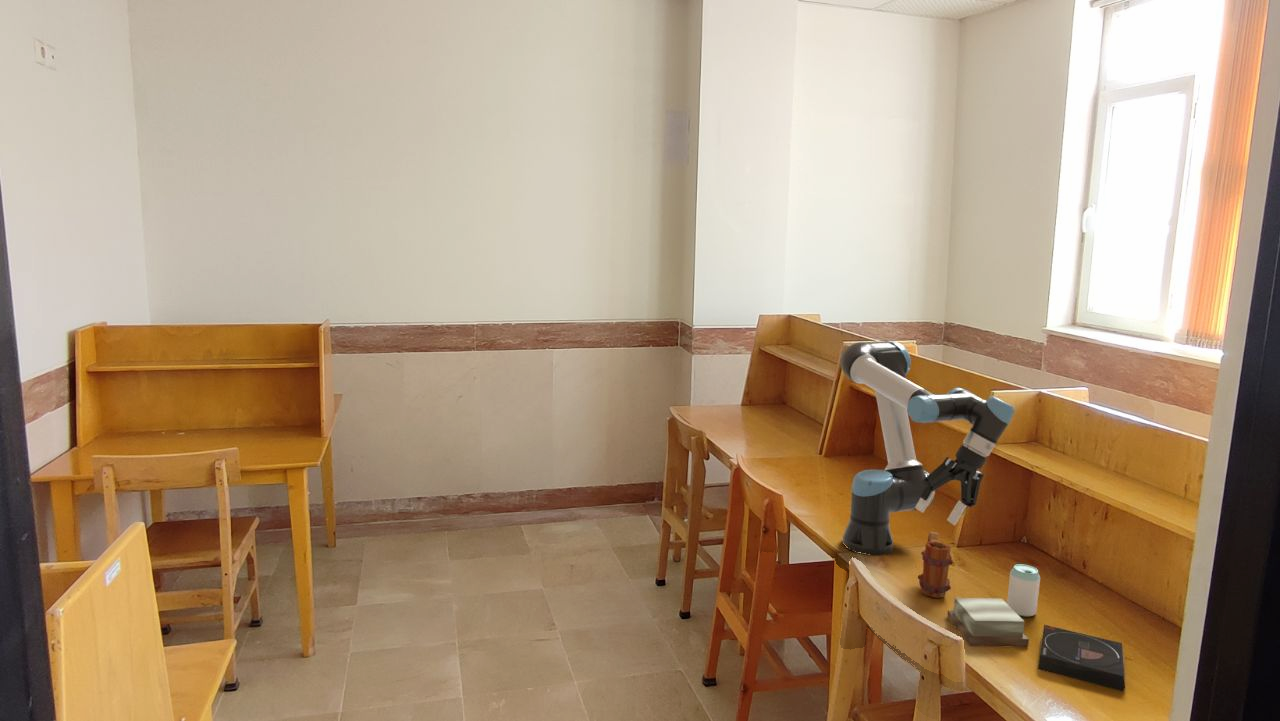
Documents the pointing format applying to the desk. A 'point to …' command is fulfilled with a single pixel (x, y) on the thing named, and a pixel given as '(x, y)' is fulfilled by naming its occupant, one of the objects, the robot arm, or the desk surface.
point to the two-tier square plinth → (988, 622)
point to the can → (1023, 590)
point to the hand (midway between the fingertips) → (935, 516)
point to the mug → (935, 567)
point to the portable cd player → (1082, 657)
